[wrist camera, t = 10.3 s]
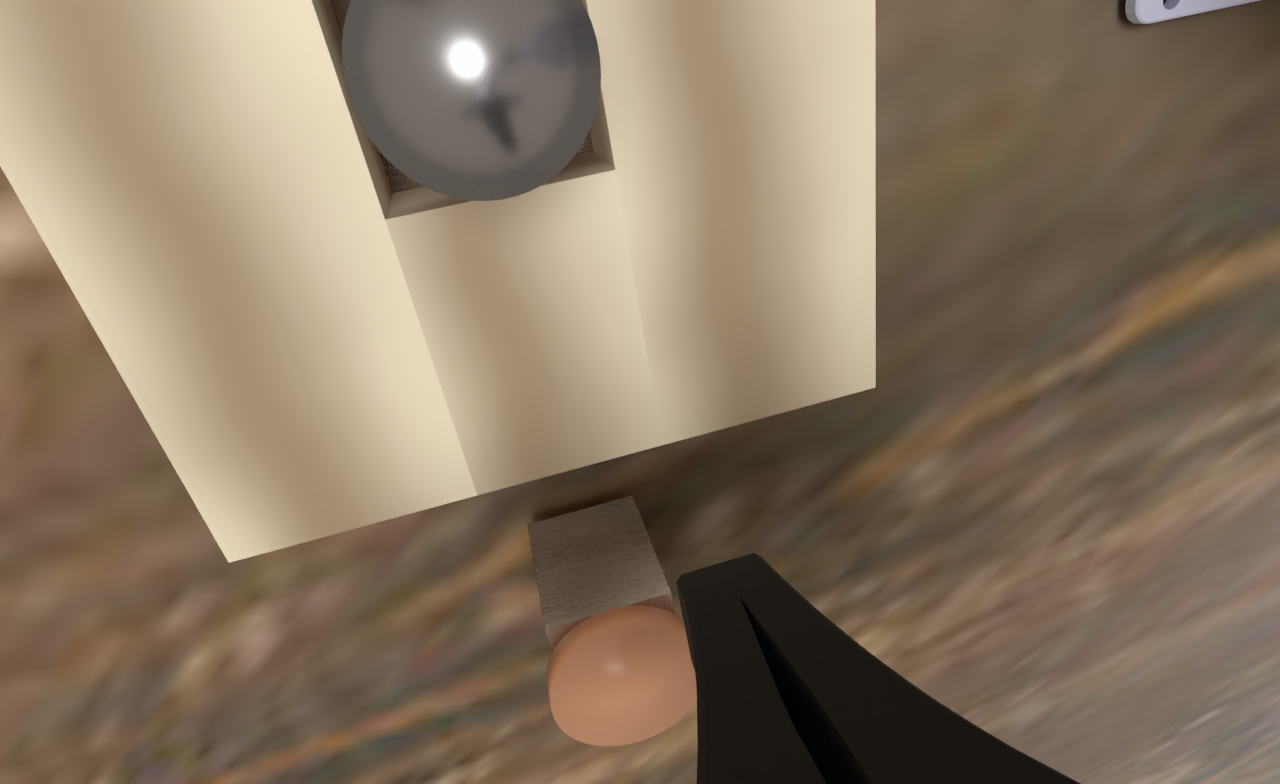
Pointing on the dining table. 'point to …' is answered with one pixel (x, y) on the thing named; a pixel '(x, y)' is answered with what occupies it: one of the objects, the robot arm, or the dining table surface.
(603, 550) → the plunger housing
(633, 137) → the block
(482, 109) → the steel pin
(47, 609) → the dining table surface
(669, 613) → the cap
